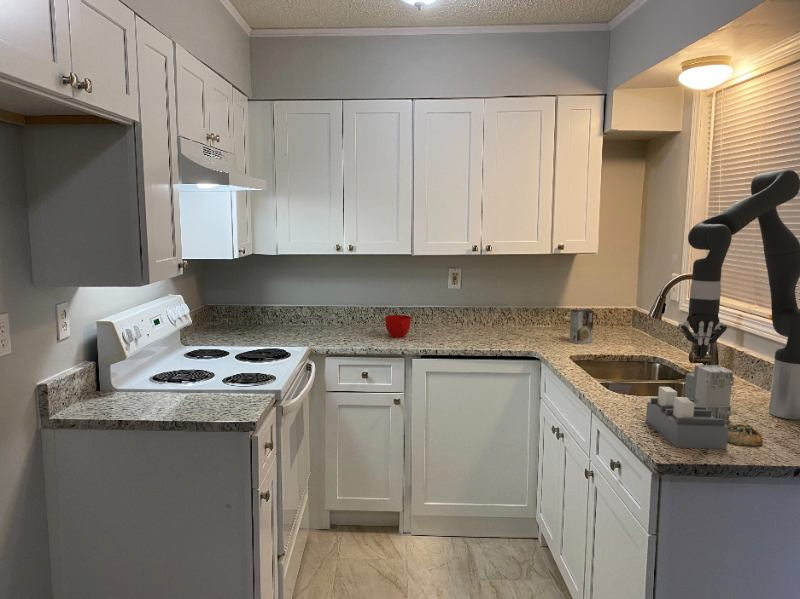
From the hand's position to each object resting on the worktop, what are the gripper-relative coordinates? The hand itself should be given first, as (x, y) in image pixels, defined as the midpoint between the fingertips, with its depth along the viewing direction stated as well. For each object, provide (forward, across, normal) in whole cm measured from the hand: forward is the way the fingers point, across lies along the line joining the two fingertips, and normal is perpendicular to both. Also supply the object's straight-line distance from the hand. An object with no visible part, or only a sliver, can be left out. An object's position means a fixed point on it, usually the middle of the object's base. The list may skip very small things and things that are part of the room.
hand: (700, 357), depth 160 cm
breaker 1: (+15, +8, 0) cm, 17 cm away
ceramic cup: (+20, +89, -120) cm, 151 cm away
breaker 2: (+15, +8, +10) cm, 19 cm away
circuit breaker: (+21, -10, -14) cm, 27 cm away
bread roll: (+21, -9, +7) cm, 24 cm away
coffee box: (+21, -1, -119) cm, 121 cm away
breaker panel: (+21, +5, +5) cm, 22 cm away
